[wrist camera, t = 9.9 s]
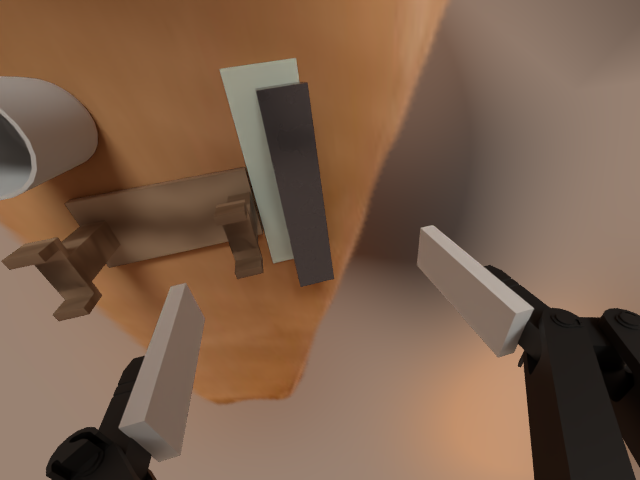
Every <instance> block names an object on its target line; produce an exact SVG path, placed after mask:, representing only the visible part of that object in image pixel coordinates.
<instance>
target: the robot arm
mask: <svg viewBox="0 0 640 480" xmlns="http://www.w3.org/2000/svg"><path fill="white" fill-rule="evenodd" d="M417 266H418V267H419V268H420V269H421V270H422V271H423V273H424V274H425V275H426V276H427V277H428V278H429V279H430V281H431V282H432V283H433V284H434V285H435V286H436V287H437V289H438V290H439V291H440V292H441V293H442V294H443V295H444V297H445V298H446V299H447V300H448V301H449V302H450V303H451V305H453V307H454V308H455V309H456V310H457V311H458V313H459V314H460V315H461V316H462V317H463V318H464V319H465V320H466V322H467V323H468V324H469V325H470V326H471V327H472V328H473V330H474V331H475V332H476V333H477V334H478V335H479V336H480V338H482V340H483V341H484V342H485V343H486V344H487V346H488V347H489V348H490V349H491V350H492V351H493V352H494V353H495V355H496V356H497V357H501V356H505V355H508V354H511V353H514V351H515V349H516V347H517V345H518V344H519V345H520V346H521V347H522V348H523V349H524V352H523V354H522V356H521V358H520V360H519V363H518V367H521V366H522V364H523V362H524V373H525V384H526V394H527V405H528V414H529V415H528V416H529V426H530V436H531V447H532V457H533V469H534V480H636V478H635V475H634V472H633V469H632V466H631V463H630V460H629V457H628V453H627V450H626V447H625V444H624V441H625V443H626V445H627V446H628V448H629V450H630V452H631V453H632V455H633V457H634V458H635V460H636V462H637V464H638V465H639V467H640V316H639V315H638V314H635V313H633V312H630V311H627V310H623V309H618V308H616V309H615V308H614V309H608V310H606V311H605V312H604V313H603V315H602V316H601V318H595V317H594V318H593V317H578V316H577V315H575V314H573V313H571V312H569V311H566V310H563V309H558V308H550V307H548V306H547V305H546V304H544V303H543V302H542V301H540V300H539V299H538V298H537V297H535V296H534V295H533V294H531V293H530V292H529V291H528V290H526V289H525V288H524V287H522V286H521V285H519V284H518V283H517V282H516V281H515V280H513V279H511V277H510V276H508V275H507V274H506V273H504V272H503V271H502V270H499V269H497V268H495V267H493V266H491V265H488V266H484V267H483V266H482V265H481V264H480V263H478V262H477V261H476V260H475V259H473V258H472V257H471V256H470V255H469V254H467V253H466V252H465V251H464V250H462V249H461V248H460V247H459V246H458V245H456V244H455V243H454V242H453V241H452V240H450V239H449V238H448V237H447V236H445V235H444V234H443V233H442V232H440V231H439V230H438V229H437V228H436V227H435V226H433V225H432V226H427V227H423V228H421V229H420V239H419V250H418V260H417ZM204 322H205V318H204V316H203V314H202V312H201V310H200V308H199V306H198V304H197V303H196V301H195V299H194V297H193V295H192V293H191V291H190V289H189V288H188V286H187V284H186V283H183V284H179V285H175V286H171V287H170V290H169V292H168V295H167V298H166V301H165V303H164V306H163V309H162V311H161V314H160V317H159V320H158V322H157V325H156V328H155V330H154V333H153V336H152V338H151V341H150V344H149V347H148V349H147V352H146V355H145V356H142V357H138V358H134V359H133V360H132V361H131V362H130V364H129V365H128V366H127V368H126V369H125V370H124V371H123V373H122V376H121V378H120V380H119V383H118V387H117V388H116V390H115V392H114V397H113V398H112V399H111V402H110V404H109V407H108V409H107V411H106V414H105V416H104V418H103V421H102V423H101V425H100V428H99V430H97V429H96V428H95V427H86V428H84V429H81V430H79V431H77V432H75V433H74V434H72V435H71V436H69V437H68V438H67V439H66V440H65V441H64V442H63V443H62V444H61V445H60V446H59V447H58V448H57V449H56V451H55V452H54V453H53V455H52V456H51V458H50V460H49V462H48V465H47V467H46V476H47V477H49V478H51V479H52V480H156V478H155V476H154V475H153V473H152V472H151V471H150V470H149V469H148V467H149V463H150V459H151V456H152V457H153V458H155V459H156V460H157V461H158V462H160V461H163V460H167V459H170V458H173V457H177V456H180V455H181V449H182V444H183V438H184V433H185V427H186V421H187V416H188V410H189V405H190V399H191V394H192V388H193V383H194V377H195V372H196V366H197V361H198V355H199V350H200V344H201V338H202V333H203V327H204ZM623 439H624V441H623Z"/></svg>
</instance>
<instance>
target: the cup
mask: <svg viewBox="0 0 640 480" xmlns="http://www.w3.org/2000/svg"><path fill="white" fill-rule="evenodd" d="M97 145H98V132H97V129H96V126H95V122H94V121H93V119H92V117H91V115H90V114H89V112H88V111H87V109H86V108H85V107H84V106H83V105H82V104H81V103H80V101H79V100H77V99H76V98H75V97H74V96H72V95H71V94H70V93H69V92H67V91H66V90H64V89H62V88H60V87H59V86H57V85H55V84H53V83H50V82H47V81H44V80H40V79H35V78H25V77H1V76H0V200H3V199H8V198H13V197H15V196H17V195H20V194H22V193H24V192H26V191H28V190H30V189H32V188H34V187H36V186H38V185H40V184H42V183H44V182H46V181H48V180H50V179H52V178H54V177H56V176H58V175H60V174H62V173H64V172H66V171H68V170H70V169H72V168H74V167H76V166H78V165H80V164H82V163H84V162H85V161H87V160H88V159H89V158H90V157H91V156H92V155H93V154H94V153H95V150H96V147H97Z"/></svg>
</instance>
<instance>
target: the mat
mask: <svg viewBox="0 0 640 480" xmlns="http://www.w3.org/2000/svg"><path fill="white" fill-rule="evenodd" d="M220 73H221V77H222V80H223V84H224V87H225V91H226V95H227V98H228V102H229V105H230V109H231V113H232V116H233V120H234V124H235V127H236V131H237V134H238V138H239V142H240V145H241V149H242V152H243V156H244V160H245V163H246V167H247V170H248V174H249V178H250V181H251V185H252V188H253V192H254V196H255V199H256V203H257V207H258V210H259V214H260V217H261V221H262V225H263V228H264V232H265V235H266V239H267V243H268V246H269V250H270V253H271V257H272V261H273V263H277V262H281V261H286V260H290V259H294V257H293V253H292V248H291V244H290V240H289V235H288V231H287V227H286V222H285V218H284V213H283V209H282V205H281V200H280V196H279V192H278V187H277V183H276V178H275V174H274V170H273V165H272V161H271V157H270V152H269V148H268V143H267V139H266V135H265V130H264V126H263V121H262V117H261V113H260V108H259V104H258V100H257V95H256V91H255V89H256V88H262V87H268V86H274V85H281V84H287V83H293V82H299V75H298V68H297V62H296V58H292V59H285V60H278V61H271V62H264V63H257V64H250V65H243V66H236V67H229V68H222V69H220Z"/></svg>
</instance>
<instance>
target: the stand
mask: <svg viewBox="0 0 640 480" xmlns="http://www.w3.org/2000/svg"><path fill="white" fill-rule="evenodd" d="M65 206H66V207H67V208H68V210H69V211H70V213H71V214H72V216H73V217H74V218H75V220H76V221H77V223H78V224H79V226H80V227H79V228H77V229H76V230H75V231H74V232H73V233H72V234H70V235H69V236H68V237H67V238H66V239H65V240H63V241H62V242H61V241H60V240H59V238H58V237H57V238H52V239H47V240H42V241H37V242H32V243H27V244H24V245H23V246H21V247H20V248H19V249H17V250H16V251H15V252H13V253H12V254H10V255H9V256H8V257H6V258H5V259H4V260H2V262H3V264H4V265H5V266H7V268H8V269H9V270H11V269H15V268H20V267H25V266H30V265H35V266H36V267H37V269H39V271H40V272H41V273H42V274H43V275H44V276H45V277H46V279H47V280H48V281H49V282H50V283H51V284H52V285H53V287H54V288H55V289H56V290H57V291H58V292H59V293H60V295H61V296H62V297H63V298H64V299H65V301H64V302H63V303H62V304H61V306H60V307H59V308H58V309H57V310H56V311H55V313H54V314H53V316H54V317H55V318H56V319H57V320H58V321H62V320H66V319H71V318H75V317H79V316H84V315H87V314H90V312H91V311H92V309H93V308H94V306H95V305H96V304H97V302H98V301H99V299H100V298H101V296H102V294H101V293H100V292H99V290H98V289H97V288H96V287H95V285H94V284H93V283H92V280H93V279H94V278H95V277H96V275H97V274H98V273H99V272H100V270H101V269H102V268H103V266H104V265H105V264H107V266H108V267H109V268H110V267H115V266H120V265H124V264H129V263H133V262H138V261H142V260H147V259H151V258H156V257H160V256H165V255H170V254H174V253H179V252H183V251H188V250H192V249H197V248H201V247H206V246H211V245H215V244H220V243H224V242H229V245H230V247H231V250H232V253H233V255H234V258H235V261H236V262H235V275H236V277H237V279H240V278H244V277H248V276H252V275H257V274H261V273H263V259H262V255H261V252H260V249H259V245H258V235H261V234H263V230H262V226H261V223H260V219H259V215H258V212H257V208H256V205H255V201H254V198H253V194H252V190H251V187H250V183H249V180H248V176H247V173H246V169H245V167H242V168H237V169H231V170H226V171H221V172H215V173H210V174H205V175H200V176H194V177H189V178H184V179H178V180H173V181H168V182H162V183H157V184H152V185H147V186H141V187H136V188H131V189H125V190H120V191H115V192H109V193H104V194H99V195H93V196H88V197H83V198H78V199H72V200H69V201H68V202H66V203H65Z"/></svg>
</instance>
